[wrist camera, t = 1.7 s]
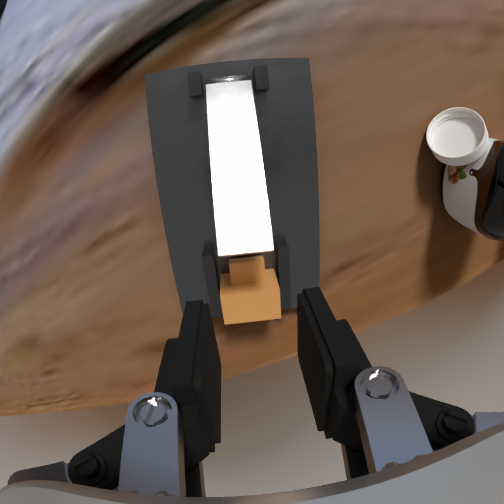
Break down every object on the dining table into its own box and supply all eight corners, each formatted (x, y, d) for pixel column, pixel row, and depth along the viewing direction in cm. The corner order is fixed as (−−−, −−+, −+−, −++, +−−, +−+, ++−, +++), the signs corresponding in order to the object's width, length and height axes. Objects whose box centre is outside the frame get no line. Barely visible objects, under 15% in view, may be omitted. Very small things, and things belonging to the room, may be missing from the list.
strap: (249, 79, 23) (249, 72, 22) (272, 251, 21) (273, 249, 20) (206, 83, 23) (205, 76, 22) (219, 257, 21) (218, 255, 20)
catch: (272, 248, 28) (278, 267, 25) (275, 295, 30) (281, 318, 27) (218, 254, 28) (216, 274, 25) (225, 300, 30) (224, 324, 27)
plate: (304, 61, 23) (314, 53, 20) (315, 297, 33) (323, 315, 30) (149, 77, 23) (138, 70, 20) (186, 311, 32) (182, 331, 29)
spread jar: (469, 224, 31) (533, 263, 20) (402, 202, 29) (473, 242, 19) (492, 134, 26) (563, 150, 16) (427, 96, 25) (507, 95, 14)
